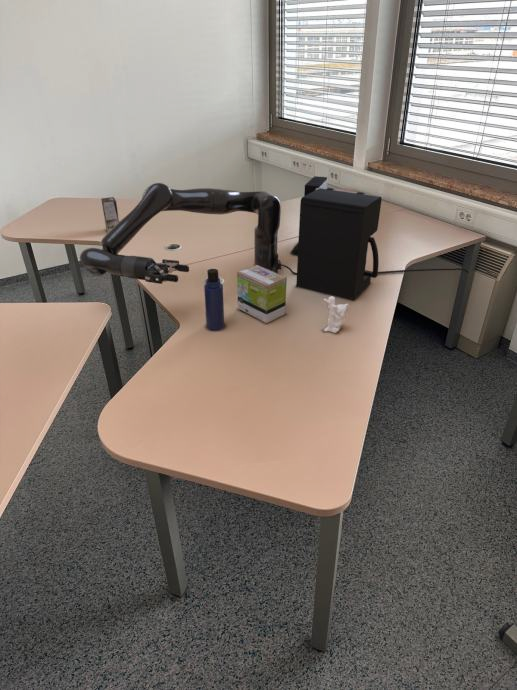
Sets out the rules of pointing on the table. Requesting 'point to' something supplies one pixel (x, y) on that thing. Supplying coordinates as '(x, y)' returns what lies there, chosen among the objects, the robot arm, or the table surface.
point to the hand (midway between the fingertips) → (183, 273)
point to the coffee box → (110, 212)
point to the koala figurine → (335, 315)
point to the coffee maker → (337, 241)
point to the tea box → (261, 293)
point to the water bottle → (214, 301)
